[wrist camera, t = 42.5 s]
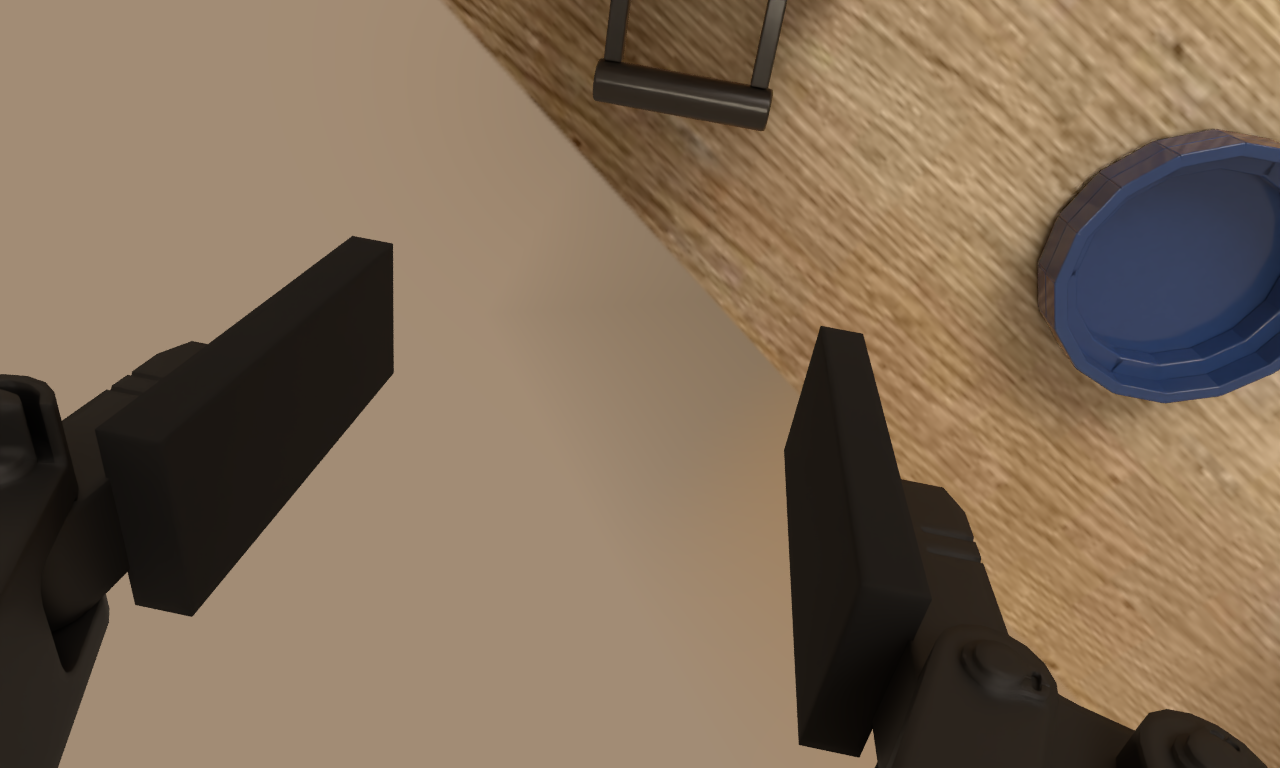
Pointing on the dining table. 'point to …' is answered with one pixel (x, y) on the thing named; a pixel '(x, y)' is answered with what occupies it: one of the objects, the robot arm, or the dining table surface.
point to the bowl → (1171, 269)
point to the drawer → (688, 79)
